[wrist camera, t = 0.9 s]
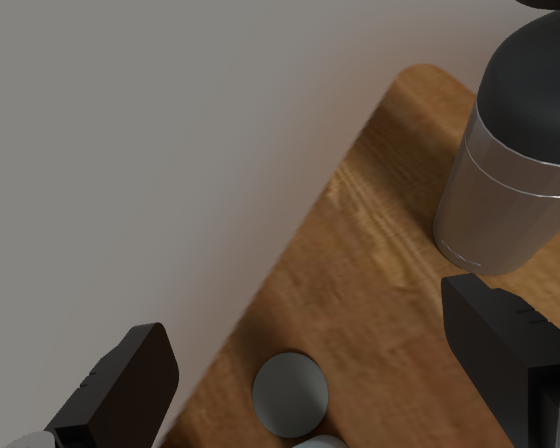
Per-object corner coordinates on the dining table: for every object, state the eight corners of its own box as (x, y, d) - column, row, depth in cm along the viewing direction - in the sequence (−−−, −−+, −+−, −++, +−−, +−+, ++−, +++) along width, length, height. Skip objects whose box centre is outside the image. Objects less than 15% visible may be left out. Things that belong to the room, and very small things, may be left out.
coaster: (293, 337, 35) (292, 336, 34) (344, 397, 31) (344, 397, 31) (239, 389, 33) (237, 389, 33) (287, 456, 30) (285, 457, 30)
